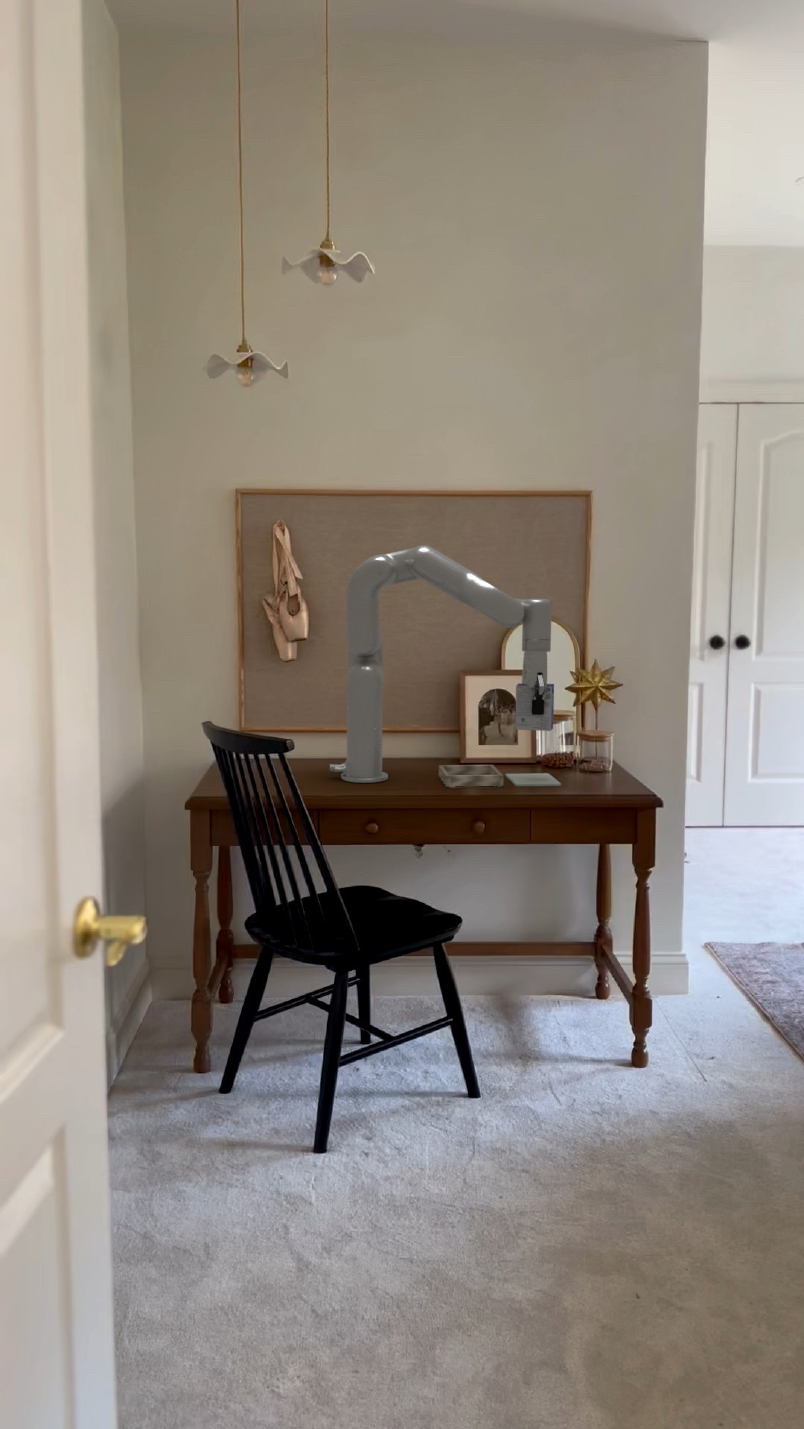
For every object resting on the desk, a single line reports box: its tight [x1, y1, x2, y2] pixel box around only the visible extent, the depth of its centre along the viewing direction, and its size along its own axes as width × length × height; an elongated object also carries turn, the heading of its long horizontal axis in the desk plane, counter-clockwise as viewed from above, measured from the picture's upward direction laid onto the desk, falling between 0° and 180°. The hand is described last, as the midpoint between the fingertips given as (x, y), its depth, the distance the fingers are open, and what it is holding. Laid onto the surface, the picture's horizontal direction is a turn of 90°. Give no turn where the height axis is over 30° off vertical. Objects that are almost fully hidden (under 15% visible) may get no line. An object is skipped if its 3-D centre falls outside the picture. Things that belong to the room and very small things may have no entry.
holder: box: [438, 764, 504, 788], centre depth 293 cm, size 15×15×3 cm
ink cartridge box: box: [514, 682, 555, 732], centre depth 292 cm, size 10×6×14 cm, turn 79°
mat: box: [505, 772, 562, 787], centre depth 295 cm, size 12×14×1 cm
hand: (534, 712), depth 292 cm, fingers closed on ink cartridge box, 6 cm apart
